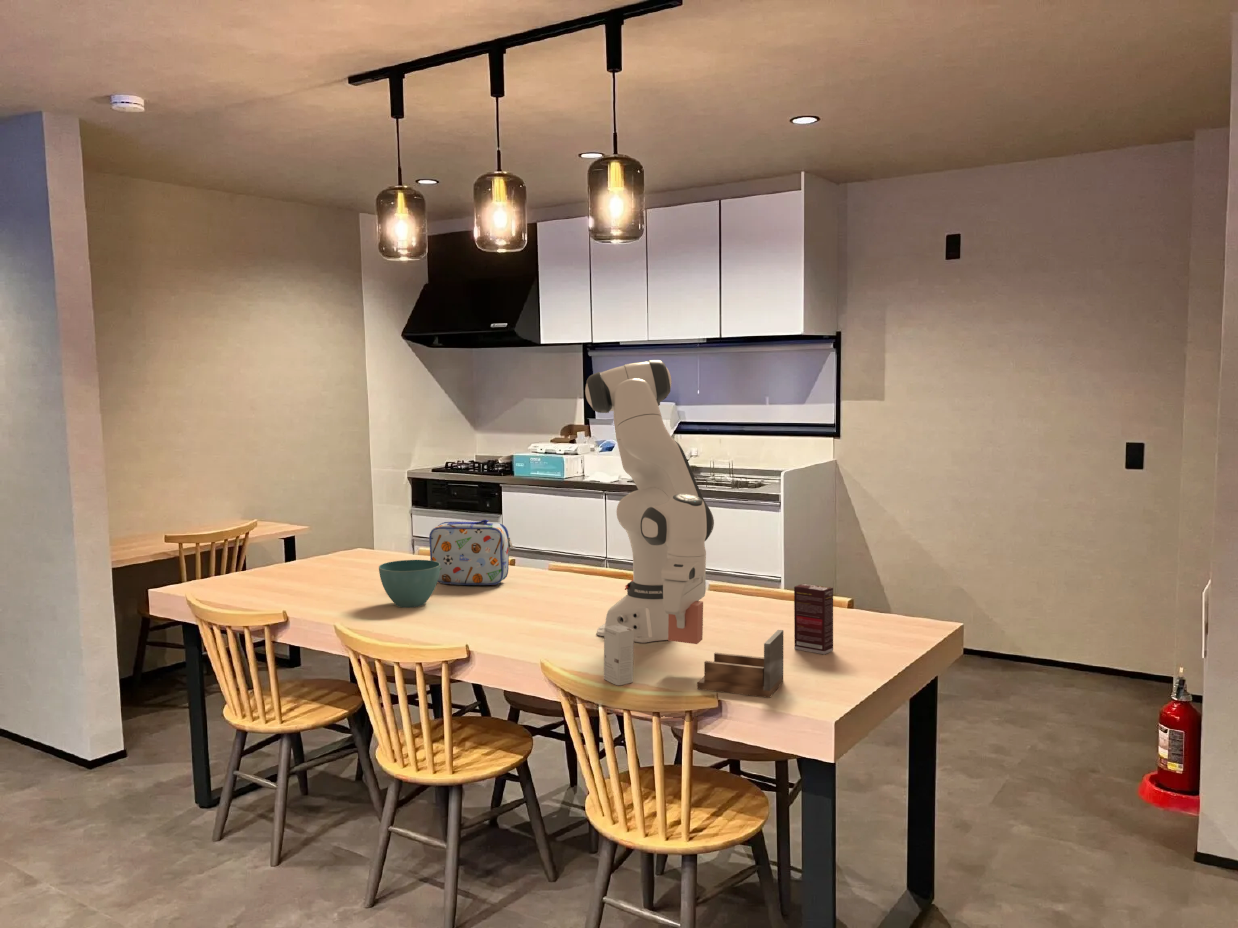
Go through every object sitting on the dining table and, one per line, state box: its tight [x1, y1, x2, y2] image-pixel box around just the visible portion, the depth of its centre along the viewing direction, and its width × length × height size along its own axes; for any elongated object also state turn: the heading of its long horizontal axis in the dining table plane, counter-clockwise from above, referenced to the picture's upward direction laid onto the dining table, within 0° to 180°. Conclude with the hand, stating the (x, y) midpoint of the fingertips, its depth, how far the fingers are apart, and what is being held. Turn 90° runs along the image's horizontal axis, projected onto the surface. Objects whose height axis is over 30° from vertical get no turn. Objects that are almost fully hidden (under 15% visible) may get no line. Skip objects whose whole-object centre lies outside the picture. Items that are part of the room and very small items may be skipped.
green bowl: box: [378, 559, 440, 609], centre depth 289 cm, size 18×18×12 cm
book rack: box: [696, 629, 784, 699], centre depth 208 cm, size 16×12×12 cm
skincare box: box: [603, 624, 635, 686], centre depth 212 cm, size 6×4×12 cm
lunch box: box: [428, 519, 514, 586], centre depth 318 cm, size 28×10×22 cm, turn 82°
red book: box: [668, 600, 704, 645], centre depth 219 cm, size 7×4×9 cm, turn 68°
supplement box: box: [793, 583, 834, 655], centre depth 234 cm, size 9×5×16 cm, turn 50°
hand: (685, 624), depth 219 cm, fingers closed on red book, 4 cm apart
